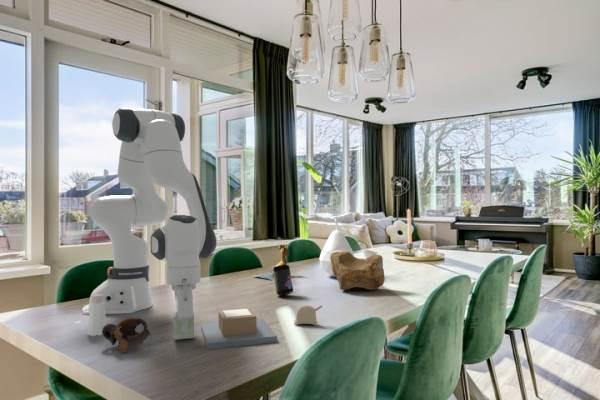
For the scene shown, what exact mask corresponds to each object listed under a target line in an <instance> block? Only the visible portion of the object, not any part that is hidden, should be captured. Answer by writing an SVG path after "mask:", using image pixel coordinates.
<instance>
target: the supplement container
mask: <svg viewBox="0 0 600 400" xmlns="http://www.w3.org/2000/svg"><path fill="white" fill-rule="evenodd" d="M275 266H276V265H275ZM275 266H274V267H272V269H273V271H272V273H274V280H273V281H274V285H275V286H274V287H275V292H276V295H277V296H280V297H281V296H288V295H291V294H293V293H294V287H293V285H294V284H293V279H292V278H291V275H292V273H291V267H290V265H289V264H287V265H281V266H276V267H275Z"/></svg>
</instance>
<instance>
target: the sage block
mask: <svg viewBox="0 0 600 400" xmlns="http://www.w3.org/2000/svg"><path fill="white" fill-rule="evenodd" d="M173 336H174V338H173V339H174V340H175V341H176V340H184V339H193V338H195V313H194V312H193V318H192V319H189V323H188V331H187V332H181V320H179V319H178V314H177V311H174V312H173Z"/></svg>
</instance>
